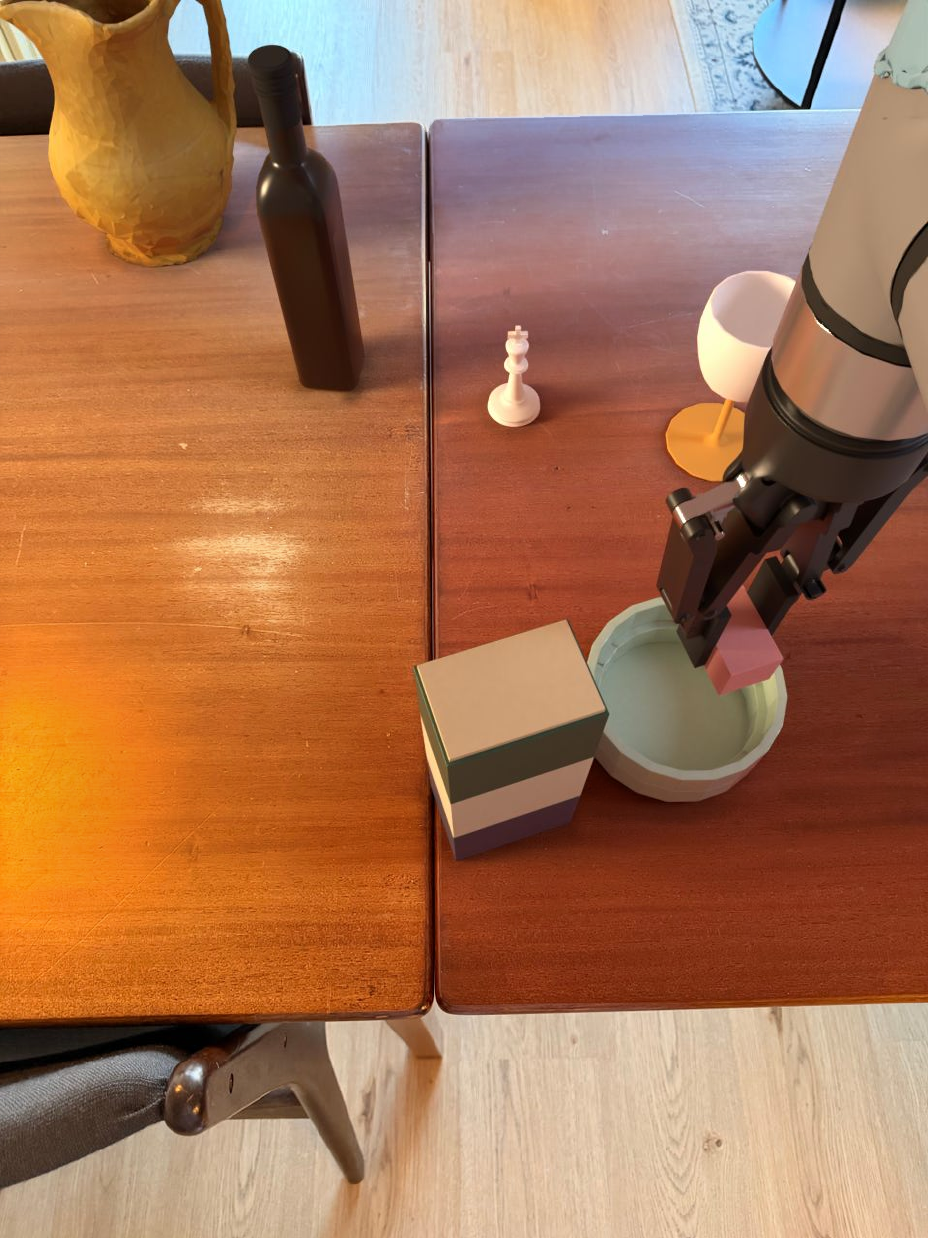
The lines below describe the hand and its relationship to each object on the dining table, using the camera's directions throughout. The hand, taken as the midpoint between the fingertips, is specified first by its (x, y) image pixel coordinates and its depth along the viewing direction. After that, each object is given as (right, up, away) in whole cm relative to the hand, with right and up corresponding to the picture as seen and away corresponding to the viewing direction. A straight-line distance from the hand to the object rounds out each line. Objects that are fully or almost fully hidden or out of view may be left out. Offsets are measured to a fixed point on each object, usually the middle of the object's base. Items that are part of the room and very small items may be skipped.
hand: (721, 637), depth 57 cm
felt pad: (-14, -3, -9) cm, 16 cm away
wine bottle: (-29, +25, +31) cm, 49 cm away
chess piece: (-11, +21, +29) cm, 37 cm away
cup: (+7, +17, +26) cm, 32 cm away
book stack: (-13, -13, +11) cm, 21 cm away
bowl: (0, -6, +14) cm, 15 cm away
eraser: (0, 0, 0) cm, 0 cm away
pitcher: (-47, +43, +40) cm, 76 cm away
